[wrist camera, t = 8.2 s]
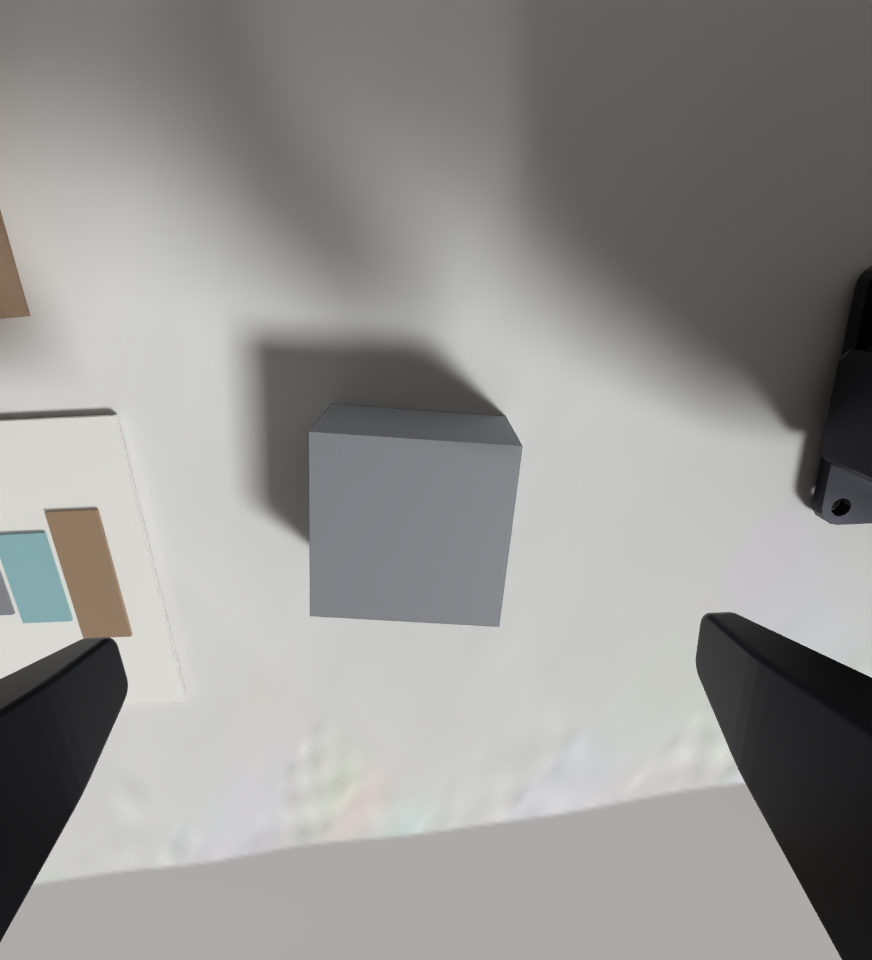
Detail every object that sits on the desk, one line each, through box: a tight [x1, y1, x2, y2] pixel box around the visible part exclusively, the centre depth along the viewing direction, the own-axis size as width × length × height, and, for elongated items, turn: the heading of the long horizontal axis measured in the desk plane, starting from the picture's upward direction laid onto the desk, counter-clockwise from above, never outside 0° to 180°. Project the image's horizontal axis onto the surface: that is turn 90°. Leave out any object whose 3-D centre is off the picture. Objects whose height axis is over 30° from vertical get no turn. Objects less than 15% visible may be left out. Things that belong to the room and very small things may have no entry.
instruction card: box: [0, 414, 186, 704], centre depth 16 cm, size 7×9×1 cm
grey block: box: [309, 404, 522, 627], centre depth 14 cm, size 4×4×3 cm
